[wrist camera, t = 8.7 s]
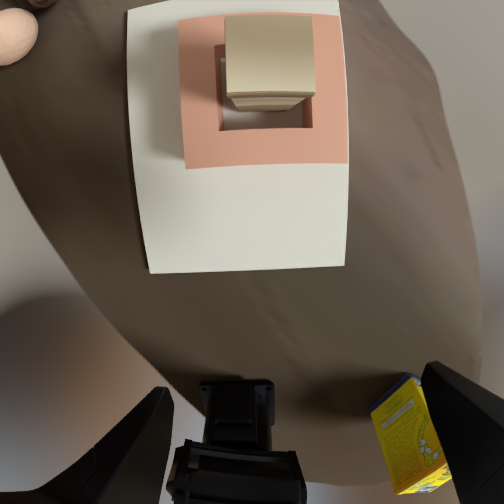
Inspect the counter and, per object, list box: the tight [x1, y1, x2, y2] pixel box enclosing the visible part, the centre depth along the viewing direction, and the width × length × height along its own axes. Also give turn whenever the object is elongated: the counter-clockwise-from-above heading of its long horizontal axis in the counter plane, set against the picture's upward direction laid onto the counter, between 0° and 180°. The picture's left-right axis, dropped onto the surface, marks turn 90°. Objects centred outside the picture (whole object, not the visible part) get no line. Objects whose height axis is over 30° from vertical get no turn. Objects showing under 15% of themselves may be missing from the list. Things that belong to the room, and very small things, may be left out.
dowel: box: [224, 15, 316, 113], centre depth 11 cm, size 3×3×9 cm
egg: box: [0, 8, 38, 66], centre depth 11 cm, size 4×4×6 cm
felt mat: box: [127, 0, 349, 274], centre depth 16 cm, size 18×13×1 cm
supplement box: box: [369, 373, 452, 494], centre depth 21 cm, size 6×6×11 cm
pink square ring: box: [178, 12, 348, 170], centre depth 14 cm, size 8×8×3 cm
